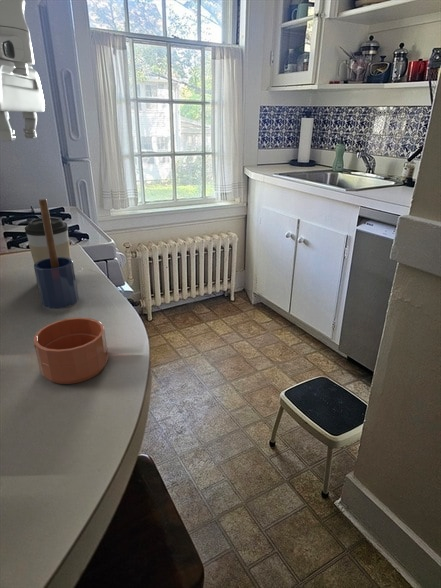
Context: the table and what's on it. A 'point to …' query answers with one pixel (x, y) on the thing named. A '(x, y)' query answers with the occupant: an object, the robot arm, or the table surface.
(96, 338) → the bowl
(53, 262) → the wooden stirring stick
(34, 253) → the coffee cup
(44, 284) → the crock
